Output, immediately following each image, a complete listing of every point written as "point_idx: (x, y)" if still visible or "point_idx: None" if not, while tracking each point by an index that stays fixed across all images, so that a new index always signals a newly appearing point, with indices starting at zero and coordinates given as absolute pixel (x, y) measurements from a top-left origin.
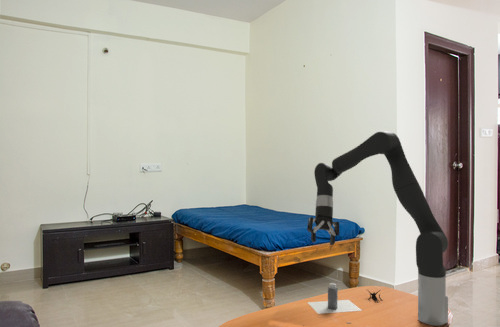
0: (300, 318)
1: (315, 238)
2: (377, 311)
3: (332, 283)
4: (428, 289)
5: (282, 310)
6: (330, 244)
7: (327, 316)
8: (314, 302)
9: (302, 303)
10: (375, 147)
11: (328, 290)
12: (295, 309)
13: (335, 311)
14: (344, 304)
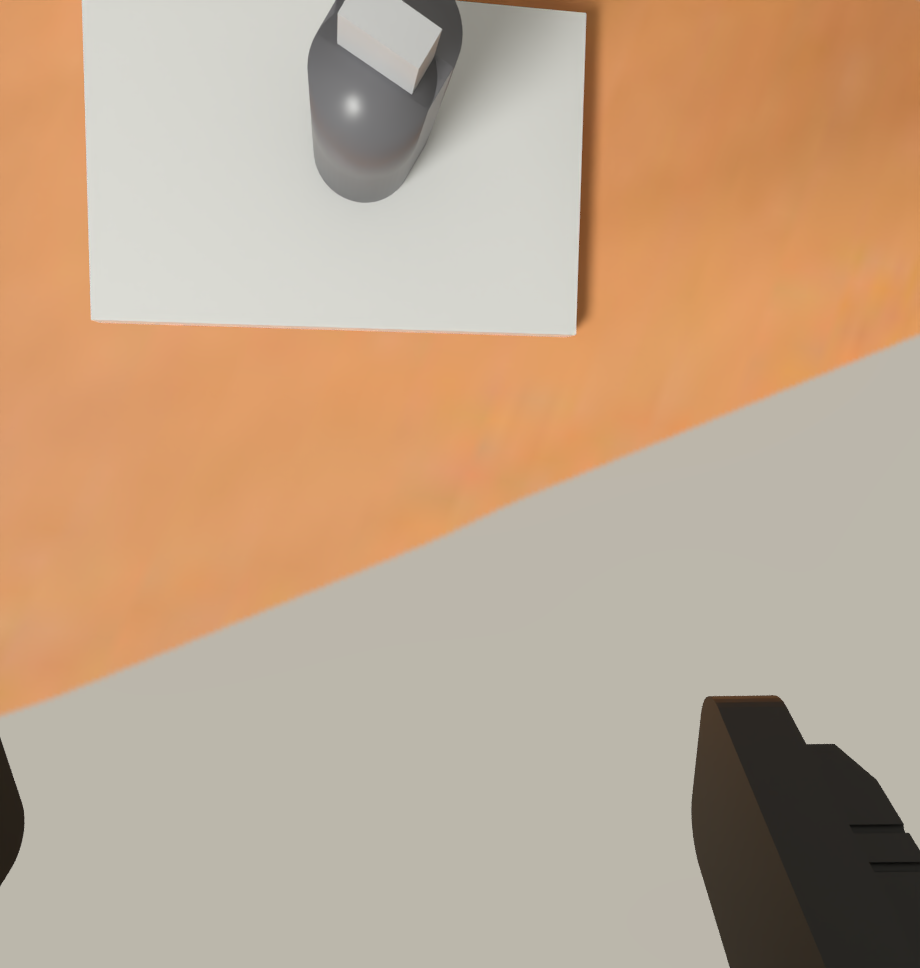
0: (742, 39)
1: (762, 781)
2: None
3: (387, 37)
4: None
5: (830, 264)
6: (11, 816)
7: None
8: (504, 318)
9: (593, 399)
10: None
11: (460, 30)
12: (711, 261)
13: None
14: (204, 186)
